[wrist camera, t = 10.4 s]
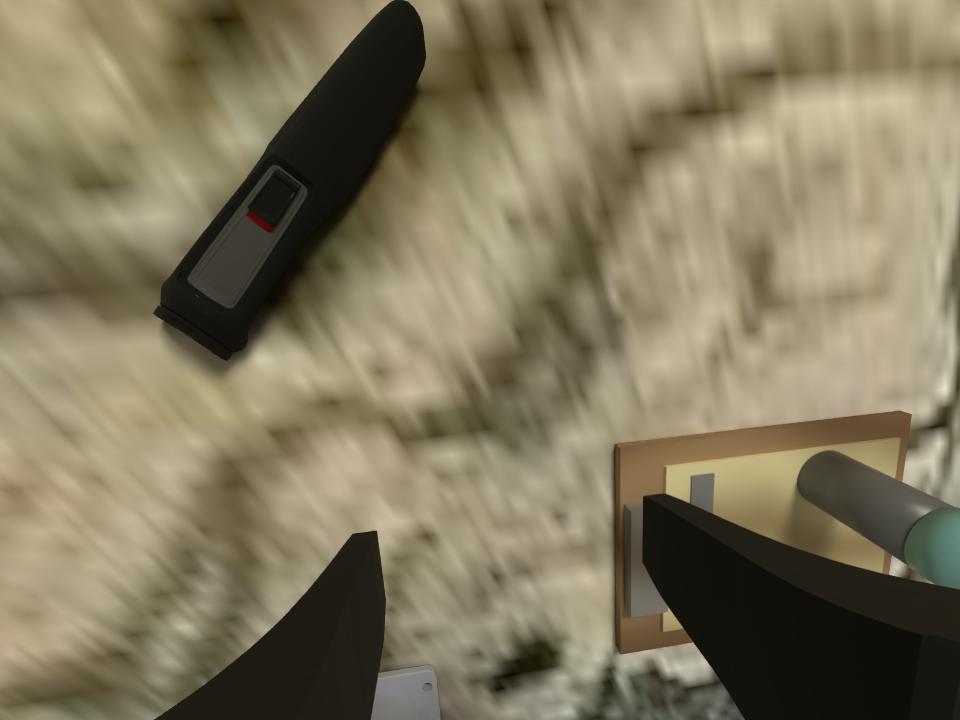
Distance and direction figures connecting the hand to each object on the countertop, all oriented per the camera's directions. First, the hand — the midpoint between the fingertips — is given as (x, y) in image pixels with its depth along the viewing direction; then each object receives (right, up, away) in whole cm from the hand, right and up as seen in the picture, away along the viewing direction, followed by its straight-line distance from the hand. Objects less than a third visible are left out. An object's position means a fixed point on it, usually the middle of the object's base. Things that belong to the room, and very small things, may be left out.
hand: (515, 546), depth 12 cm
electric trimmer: (-9, +12, +7) cm, 16 cm away
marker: (+17, -1, +12) cm, 21 cm away
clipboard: (+14, -4, +13) cm, 20 cm away
